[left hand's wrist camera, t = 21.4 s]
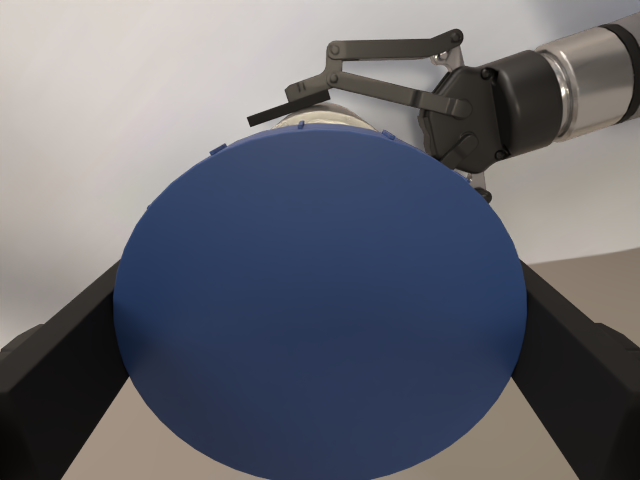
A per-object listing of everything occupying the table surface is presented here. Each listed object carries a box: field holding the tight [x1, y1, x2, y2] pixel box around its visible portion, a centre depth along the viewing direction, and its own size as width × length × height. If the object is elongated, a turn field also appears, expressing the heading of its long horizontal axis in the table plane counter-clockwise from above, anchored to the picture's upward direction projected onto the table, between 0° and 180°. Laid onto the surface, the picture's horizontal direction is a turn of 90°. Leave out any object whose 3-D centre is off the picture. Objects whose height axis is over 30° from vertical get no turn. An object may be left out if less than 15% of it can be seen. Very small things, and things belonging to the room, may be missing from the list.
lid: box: [113, 120, 527, 480], centre depth 11 cm, size 11×11×2 cm
